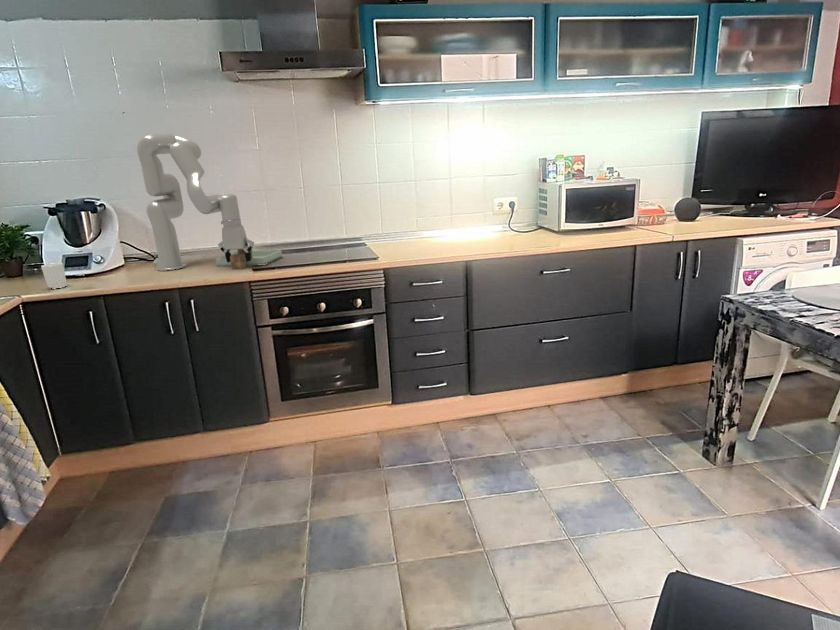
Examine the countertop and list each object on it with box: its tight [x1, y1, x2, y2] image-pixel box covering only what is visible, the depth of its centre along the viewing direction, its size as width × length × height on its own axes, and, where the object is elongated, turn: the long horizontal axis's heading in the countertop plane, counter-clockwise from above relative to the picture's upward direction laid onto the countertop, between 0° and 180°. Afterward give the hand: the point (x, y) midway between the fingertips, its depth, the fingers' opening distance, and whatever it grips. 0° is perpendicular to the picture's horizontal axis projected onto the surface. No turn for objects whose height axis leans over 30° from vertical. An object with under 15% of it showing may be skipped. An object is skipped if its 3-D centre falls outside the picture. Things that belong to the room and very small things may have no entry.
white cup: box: [40, 262, 68, 288], centre depth 240 cm, size 8×8×10 cm
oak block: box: [230, 254, 247, 271], centre depth 256 cm, size 4×4×6 cm
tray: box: [215, 250, 283, 267], centre depth 269 cm, size 24×18×4 cm
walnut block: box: [237, 249, 253, 258], centre depth 266 cm, size 4×4×6 cm
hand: (239, 261), depth 256 cm, fingers open, 9 cm apart
